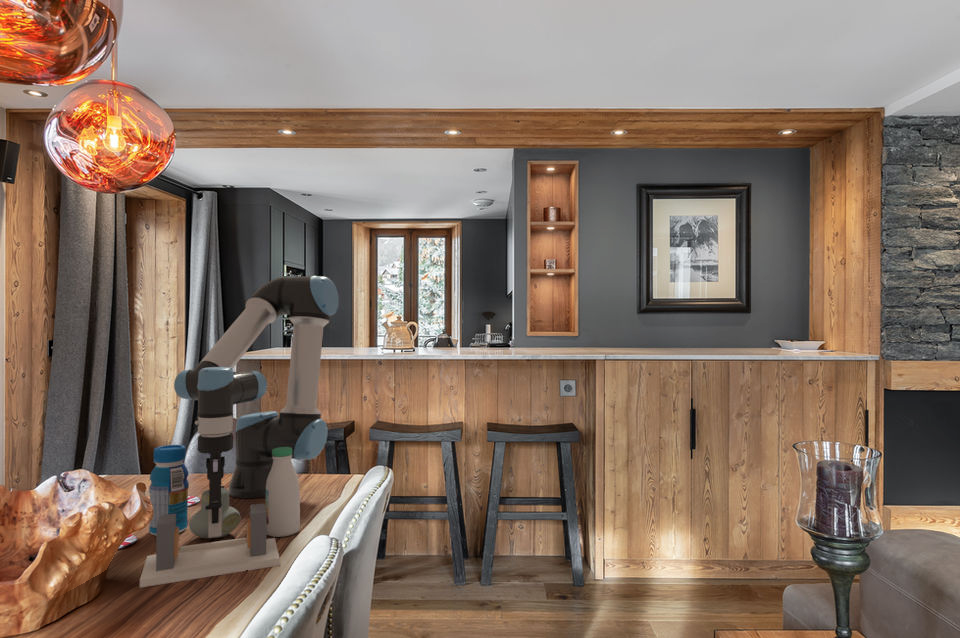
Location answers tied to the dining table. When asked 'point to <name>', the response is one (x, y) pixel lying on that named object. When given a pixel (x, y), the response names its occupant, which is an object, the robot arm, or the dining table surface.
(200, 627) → the dining table surface
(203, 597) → the dining table surface
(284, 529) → the milk bottle
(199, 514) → the air freshener
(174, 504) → the beverage bottle
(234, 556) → the rail
